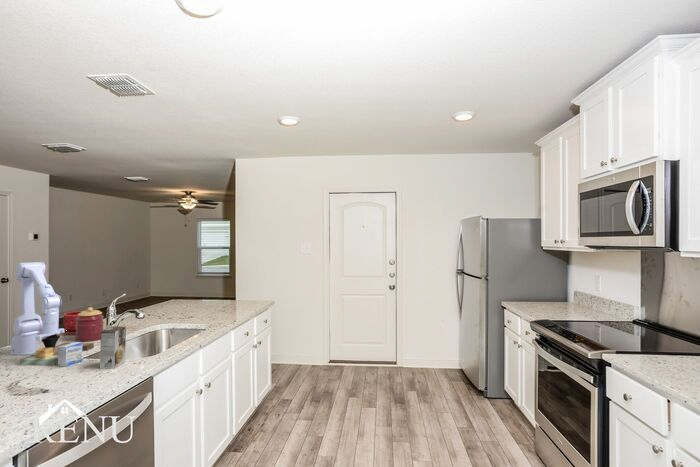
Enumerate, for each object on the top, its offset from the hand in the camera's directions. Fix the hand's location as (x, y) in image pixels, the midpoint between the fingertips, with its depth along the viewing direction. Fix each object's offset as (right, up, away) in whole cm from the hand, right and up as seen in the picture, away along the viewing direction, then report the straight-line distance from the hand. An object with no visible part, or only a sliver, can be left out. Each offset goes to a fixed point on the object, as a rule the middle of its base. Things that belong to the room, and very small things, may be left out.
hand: (50, 352), depth 170 cm
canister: (-7, -4, +36) cm, 36 cm away
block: (0, -1, -4) cm, 4 cm away
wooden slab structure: (0, -4, +6) cm, 7 cm away
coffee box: (+33, -4, -7) cm, 34 cm away
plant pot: (-23, -4, +48) cm, 54 cm away
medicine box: (+13, -4, -5) cm, 15 cm away
